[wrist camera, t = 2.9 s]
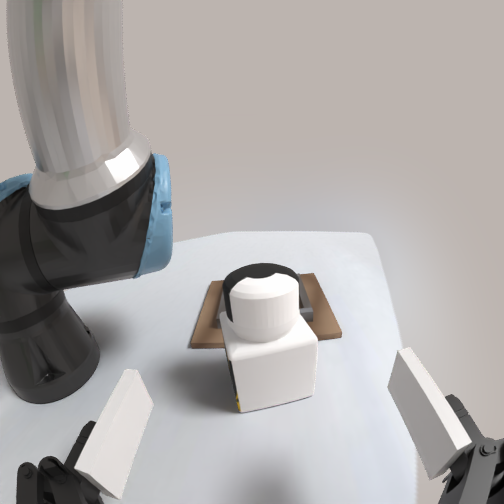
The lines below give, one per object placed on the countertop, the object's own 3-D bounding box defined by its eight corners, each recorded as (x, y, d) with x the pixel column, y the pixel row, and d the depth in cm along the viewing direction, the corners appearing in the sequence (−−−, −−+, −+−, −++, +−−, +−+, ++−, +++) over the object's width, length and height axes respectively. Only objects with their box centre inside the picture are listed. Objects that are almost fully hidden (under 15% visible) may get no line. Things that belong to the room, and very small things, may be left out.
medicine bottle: (228, 366, 28) (210, 263, 24) (291, 353, 29) (288, 251, 25) (239, 414, 21) (218, 300, 17) (315, 396, 22) (321, 282, 18)
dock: (191, 348, 31) (188, 333, 30) (212, 285, 48) (210, 273, 47) (341, 337, 30) (342, 321, 29) (313, 277, 47) (313, 265, 46)
